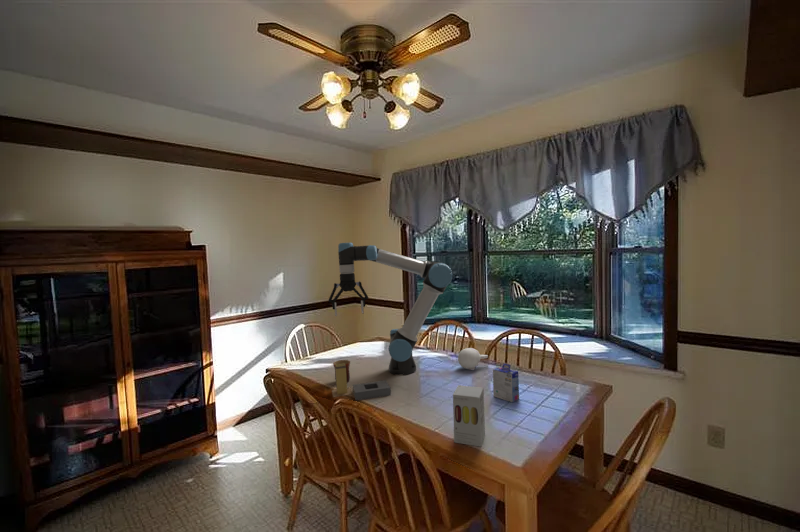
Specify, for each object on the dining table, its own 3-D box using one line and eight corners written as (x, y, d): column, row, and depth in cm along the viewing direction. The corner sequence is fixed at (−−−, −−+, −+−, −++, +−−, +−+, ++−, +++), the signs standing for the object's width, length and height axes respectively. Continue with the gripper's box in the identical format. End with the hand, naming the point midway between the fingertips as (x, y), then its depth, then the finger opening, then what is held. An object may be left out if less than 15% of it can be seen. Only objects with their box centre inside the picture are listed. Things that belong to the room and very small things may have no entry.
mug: (337, 378, 191) (336, 359, 190) (353, 379, 189) (352, 360, 188) (329, 387, 179) (327, 367, 178) (345, 388, 177) (344, 367, 177)
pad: (350, 388, 177) (350, 387, 176) (352, 395, 168) (352, 394, 168) (331, 391, 174) (331, 389, 174) (333, 398, 166) (333, 396, 166)
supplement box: (453, 442, 123) (451, 394, 122) (459, 429, 131) (457, 384, 131) (482, 447, 119) (480, 397, 119) (485, 433, 128) (484, 386, 127)
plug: (346, 389, 174) (344, 362, 173) (347, 393, 169) (345, 365, 169) (336, 390, 173) (335, 364, 172) (337, 394, 168) (336, 367, 168)
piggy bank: (467, 376, 189) (484, 370, 199) (473, 356, 187) (490, 351, 197) (450, 364, 198) (467, 360, 208) (455, 345, 196) (472, 341, 206)
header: (386, 388, 174) (385, 380, 174) (390, 396, 165) (390, 387, 164) (353, 393, 170) (352, 384, 170) (355, 401, 161) (355, 392, 160)
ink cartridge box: (520, 399, 155) (518, 365, 154) (513, 403, 151) (512, 369, 151) (500, 393, 162) (498, 361, 162) (492, 396, 159) (491, 364, 158)
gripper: (370, 271, 190) (372, 311, 191) (321, 274, 184) (324, 315, 185) (372, 271, 183) (374, 313, 184) (322, 275, 177) (324, 317, 178)
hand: (349, 314), depth 185 cm, fingers open, 13 cm apart
